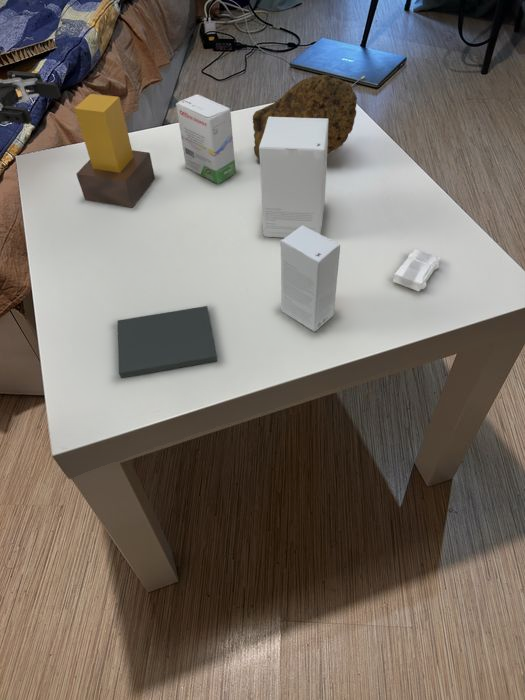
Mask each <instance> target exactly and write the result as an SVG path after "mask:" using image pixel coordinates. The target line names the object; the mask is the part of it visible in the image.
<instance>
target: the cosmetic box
mask: <svg viewBox="0 0 525 700" xmlns="http://www.w3.org/2000/svg"><path fill="white" fill-rule="evenodd" d="M340 252H341V244H340V243H339V242H337V241H334V240H332V239H331V238H329V237H326V236H325V235H323V234H322V233H321V234H319V233H317V232H315V231H313V230H311V229H309V228H307V227H305V226H303V225H302V226H301V227H299V228H298V229H297V230H295V231H294V232H292V233H291V234H290V235H288V236H287V237H285V238H281V240H280V286H281V287H280V302H281V303H280V306H281V307H280V309H281V312H282V313H283V314H286V316H289V317H290V318H292V319H293V320H295V321H297V322H298V323H300V324H301V325H302V326H304V327H306V328H307V329H309V330H311V331H312V332H315V333H316V331H318V330H319V329H320V328H321V327H322V326H323V325H324V324H325V323H326V322H328V321H329V320H330V319H332V317H334V315H335V306H336V295H337V294H336V293H337V285H338V274H339V266H340V265H339V264H340V254H341V253H340Z"/></svg>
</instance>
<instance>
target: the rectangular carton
mask: <svg viewBox="0 0 525 700" xmlns="http://www.w3.org/2000/svg"><path fill="white" fill-rule="evenodd" d="M327 147H328V119H324V118H292V117H268V120H267V124H266V127H265V131H264V134H263V137H262V140H261V143H260V146H259V156H260V159H259V169H260V172H259V173H260V191H261V210H262V211H261V213H262V229H263V230H262V232H263V233H262V234H263V237H265V238H266V237H267V238H281V239H284V238H285V237H287V236H288V235H290V234H291V233H292V232H294V231H295V230H297V229H298V228H299V227H301V226H302V225H303V226H305V227H307V228H309V229H311V230H313V231H315V232H317V233H319V234H321V235H322V227H323V221H324V220H323V219H324V212H325V200H326V199H325V198H326V184H327V183H326V181H327V163H328V155H327Z"/></svg>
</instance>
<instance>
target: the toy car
mask: <svg viewBox="0 0 525 700" xmlns="http://www.w3.org/2000/svg"><path fill="white" fill-rule="evenodd" d="M441 259H442V258H441V256H440V257H439V256H437V255H434V254H431V253H428V252H426V251H423V250H420V249H417V248H415V249H414V250H413V251H412V252H410V253H409V254H408V256H407V258H406V259H405V260H404V262H403V263H402V264H401V265H400V267H399V268H398V269H397V271H395V272H394V273H393V278H392V282H394V283H396V284H399V285H401V286H403V287H406V288H409V289H411V290H414V291H417V292H420V291H421V290H424V289H425V288H426V287H427V282H428V280H429V278H430V277H431V275H432V274H433V273H434V271H435V270H437V269H438V268H439V267H440V261H441Z"/></svg>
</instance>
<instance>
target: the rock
mask: <svg viewBox="0 0 525 700" xmlns="http://www.w3.org/2000/svg"><path fill="white" fill-rule="evenodd" d="M357 99H358V97H357V95H356V92H355V91H354V90H353V86H352V85H351V84H350V83H347V82H346V81H345V80H342V79H341V78H339V77H338V78H337V77H331V76H329V75H327V74H321V75H313V76H309V77H305V78H303V79H301V80H300V81H298V82H297V83H296V84H295V83H294V85H293V86H291V88H290V89H288V91H286V92H285V93H284V94H283V95H282V96H281V97H280V98H279V99H277V100H276V101H275V102H273V103H272V104H269V105H266V106H264V107H263V108H260V109H258V110H256V111H255V112H254V113H253V115H252V125H253V126H252V127H253V131H254V132H253V138H254V142H253V143H254V146H253V151H254V155H255V157H256V158H257V159H258V160H260V156H259V146H260V143H261V140H262V137H263V134H264V131H265V127H266V124H267V120H268V117H292V118H324V119H328V147H327V156H328V155H330V154H331V153H333V152H334V151H336V150H338V149H339V148H340V147H342V146H343V145H344V143H346V142H347V140H348V138H349V134H351V132H352V131H353V127H354V124H355V119H356V116H357V101H358V100H357Z"/></svg>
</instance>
